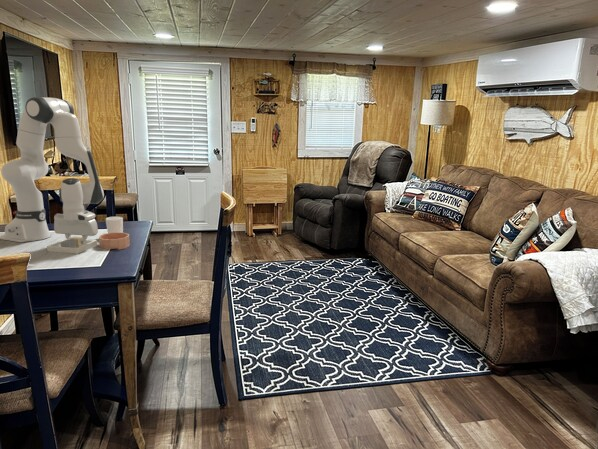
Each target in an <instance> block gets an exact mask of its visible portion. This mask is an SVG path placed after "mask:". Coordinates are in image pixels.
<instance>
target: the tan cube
mask: <svg viewBox="0 0 598 449" xmlns="http://www.w3.org/2000/svg"><path fill="white" fill-rule="evenodd" d="M69 240H75V245H76V247H77V248H78V247H80V246H83V244H81V241H82V240H83V238H82V236H78V235H74V236H73V237H71V238H70V239H69Z"/></svg>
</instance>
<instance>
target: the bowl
mask: <svg viewBox="0 0 598 449" xmlns="http://www.w3.org/2000/svg"><path fill="white" fill-rule="evenodd" d="M98 242H99V243H98V245H99V247H100V248H102V249H107V250H113V249H116V251H118V250H119V251H121V250H124V249H127V248H129V247H130V246H131V245H130V243H131V242H130V234H129V233H126V232H123V233H122V232H115V233H108V232H107V233H104V234H103V233H102V234H100V235H99V236H98Z"/></svg>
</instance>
